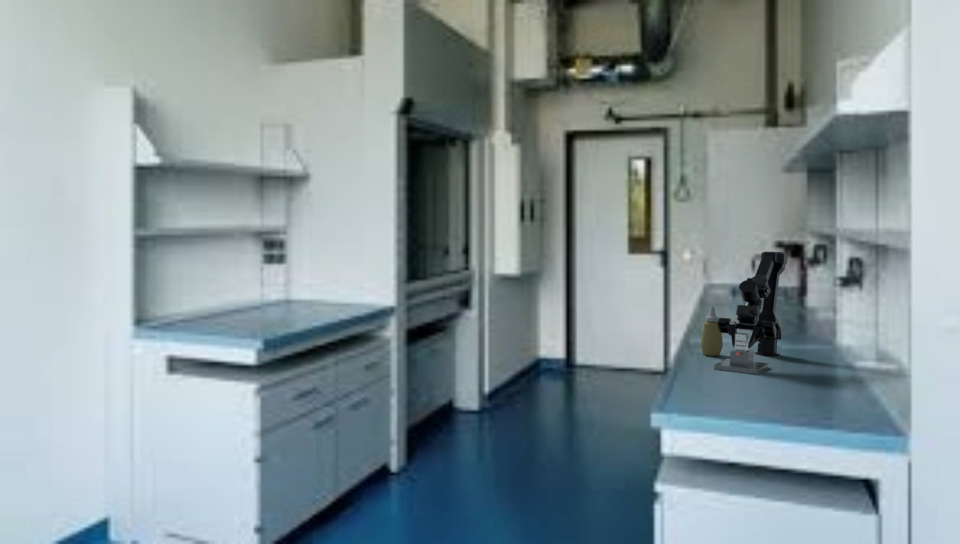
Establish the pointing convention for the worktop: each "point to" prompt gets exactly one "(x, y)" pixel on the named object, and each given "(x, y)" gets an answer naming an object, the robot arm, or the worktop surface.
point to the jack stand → (741, 363)
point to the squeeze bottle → (711, 335)
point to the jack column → (741, 342)
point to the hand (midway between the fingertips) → (740, 346)
